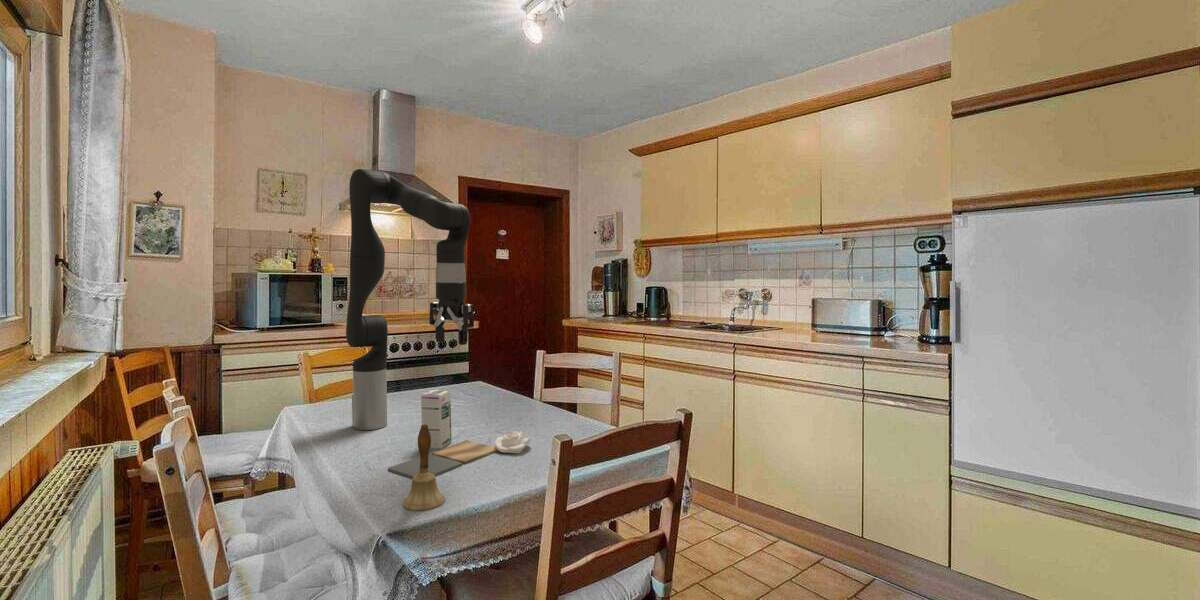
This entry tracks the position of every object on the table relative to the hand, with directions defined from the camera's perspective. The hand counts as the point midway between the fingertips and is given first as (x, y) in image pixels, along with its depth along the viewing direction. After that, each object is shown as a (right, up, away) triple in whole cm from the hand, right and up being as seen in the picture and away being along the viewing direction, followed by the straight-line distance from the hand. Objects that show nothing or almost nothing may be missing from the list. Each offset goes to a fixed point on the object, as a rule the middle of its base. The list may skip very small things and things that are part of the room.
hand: (451, 343), depth 144 cm
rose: (+16, -28, +2) cm, 32 cm away
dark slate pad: (-3, -29, -12) cm, 31 cm away
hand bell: (+3, -30, -31) cm, 43 cm away
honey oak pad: (+4, -28, -1) cm, 29 cm away
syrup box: (-5, -28, +5) cm, 29 cm away
